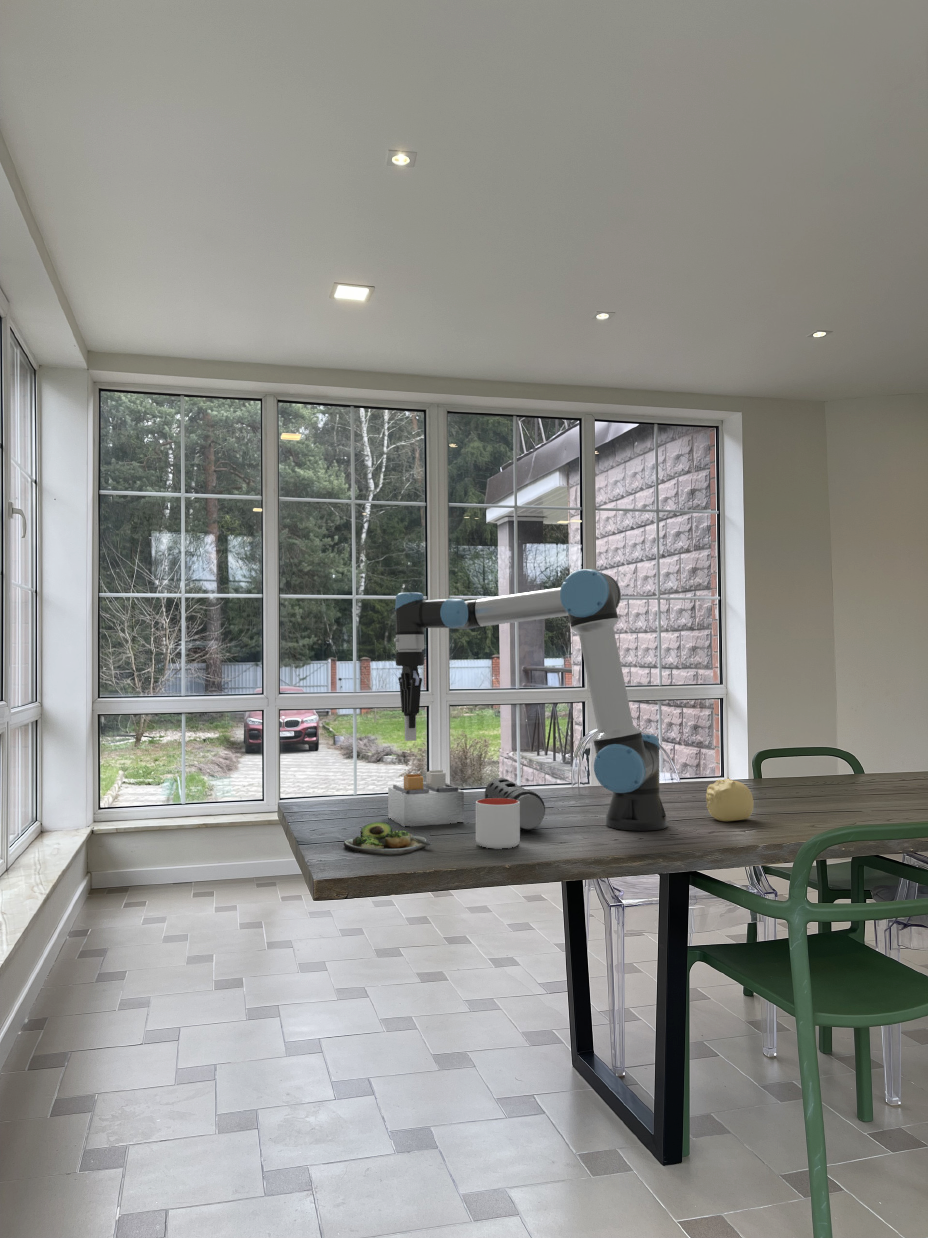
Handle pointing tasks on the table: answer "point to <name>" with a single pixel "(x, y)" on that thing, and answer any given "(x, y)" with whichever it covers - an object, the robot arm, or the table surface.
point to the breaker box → (426, 805)
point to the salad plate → (384, 840)
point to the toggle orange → (413, 781)
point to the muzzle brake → (529, 801)
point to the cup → (497, 823)
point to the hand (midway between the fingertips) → (410, 740)
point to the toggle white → (436, 778)
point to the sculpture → (729, 800)
